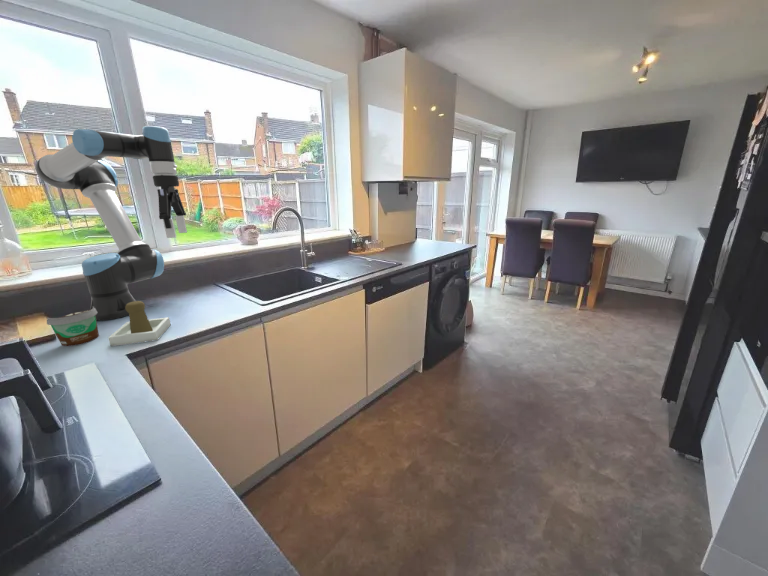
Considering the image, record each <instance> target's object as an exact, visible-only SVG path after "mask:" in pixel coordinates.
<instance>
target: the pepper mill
mask: <svg viewBox="0 0 768 576" xmlns="http://www.w3.org/2000/svg"><path fill="white" fill-rule="evenodd" d="M145 308H146V304H145V302H143V301H141V300H136V301H134V302H130V303H128V304H126V306H125V309H126V311H127V312H128V313H129V315H128V317H129V322H130V329H131V334H132V333H141V332H149V331H153V329H152V327H151V325H150V322H149V318H148V316H147V314H146V312H145V310H146V309H145Z"/></svg>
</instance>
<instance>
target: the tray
mask: <svg viewBox="0 0 768 576" xmlns="http://www.w3.org/2000/svg"><path fill="white" fill-rule="evenodd" d="M148 320H149V322H150V325H151V327H152V329H153V331H149V332H141V333H132V334H131V329H130V321H126V322H125V323H124V324H123V325H121V326H120V327H119V328H118V329H117V330H115V332H113V333H112V334H110V336H108V337H107V338H108V339H107V340H108V341H109V345H110V347H115V346H116V347H117V346H123V345H132V343H133V344H139V343H138V342H141V343H146V342H145V341H149V342H153V341H152V340H157V341H158V340H159V339H160V338H161V337H162V336H163V335H164V333H166V331H167V330H168V328H170V327H171V325H172V324H171V320H170V317H161V318H160V317H159V318H151V319H149V318H148ZM162 334H163V335H162ZM161 335H162V336H161ZM160 336H161V337H160ZM159 337H160V338H159ZM158 338H159V339H158Z"/></svg>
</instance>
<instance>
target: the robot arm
mask: <svg viewBox="0 0 768 576" xmlns="http://www.w3.org/2000/svg"><path fill="white" fill-rule="evenodd" d="M141 130H142V134H140V135H137V134H136V135H134V134H127V133H118V132H110V131H102V130H95V129H94V130H93V129H90V128H86V129H83V128H79V129H75V130H73V132H72V135H71V139H72V142H70V143H69V144H68V145H66V146H64V147H63V148H61V149H60V150H58V151H57V152H55V153H54V154H47V155H46V154H45V155H43V156H42V157H41V158H39V159H38V160H37V161H36V163H35V171H36V173H37V175H38V177H39V178H40V179H41V180H42V181H44V182H45V183H46V184H48V185H50V186H52V187H55V188H58V189H63V190H79V191H80V193H81V195H83V197H85V198H88V199H89V200H90V201H91V203H92V204H93V206H94V208H95V210H96V212H97V213H98V215H99V216H100V218H101V221H102V222H103V224H104V225H105V227H106V229H107V231H108V233H109V234H110V235H111V238H112V240H113V242H114V243H115V244H116V246H117V248H118V251H117V252H110V253H109V252H108V253H105V254H104V253H103V254H102V253H101V254H98V255H94V256H91V257H89V258H86V259H85V260H83V261H82V262H81V269H82V275H83V276H84V279H85V282H86V286H87V289H88V291H89V292H88V293H89V294H90V299H91V301H90V309H93V307H94V308H95V309H96V311H97V312H98V313H97V314H96V315H95V316H96V321H108V320H115V319H119V318H123V317H127V316H129V313H128V312H127V311H126V309H125V306H126V304H128V303H130V302H134V301H137V300H136V299H135V298H134V297H133V295H132V293H130V290H129V286H128V285H129V284H133V283H137V282H143V281H145V280H151V279H154V278H156V277H160V276H161V275H162V274H163V273H164V270H165V260H164V257H163V255H162V254H161V252H160V251H159V250H158V249H152V248H151V247H150V244H148V243H145V242H143V240H142V239H141V237H140V235H139V234H138V232H137V230H136V228H135V227H134V225H133V223H132V221H131V220H130V217H129V216H128V214H127V212H126V210H125V208H124V207H123V205H122V203H121V202H120V199H119V198H118V196H117V194H116V191H117V187H118V184H119V180H118V176H117V173H116V171H115V170H114V168H113V167H112V166H111V164H109V163H108V162H106V161H104V160H102V159H104V158H107V157H113V158H126V159H127V158H128V159H130V158H131V159H132V160H133V159H134V160H145V159H148V161H149V166H150V172H151V174H152V175H153V176H152V180H153V184H154V185H153V186H154V187H157V188H158V189H156V191H157V194H158V195H157V196H158V213H159V214H158V218H159V220H162V222H163V227H164V230H165V234H166V239H175V238H177V233H176V229H175V224H174V220H173V218H172V209H173V211H174V214H175V220H176V226H177V231H178V233H179V234H186V233H187V234H188V231H187V227H186V226H187V225H186V221H185V216H186V215H187V212H186V211H185V208H184V205H183V203H182V200H181V197H180V194H179V193H180V192H179V189H178V188H176V187H179V186H180V181H179V178H178V177H179V176H177V175H176V174H178V172H177V168H178V165H177V164H176V163H175V157H174V152H173V147H172V140H171V138H170V137H171V136H170V134H169V130H168V129H167V128H166V127H163V126H156V125H145V126H143V127H142V128H141ZM159 188H160V189H159ZM90 309H89V310H90Z"/></svg>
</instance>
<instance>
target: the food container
mask: <svg viewBox="0 0 768 576" xmlns="http://www.w3.org/2000/svg"><path fill="white" fill-rule="evenodd" d="M97 313H98V312H97V311H96V309H95V308H94V307H93V309H88V310H87V309H86V310H83V311H76V312H75V311H74V312H71V313H68V314H65V315H62V316H59V317H46V325H48V326H51V328H52V330H53V332H54V333H55V337H56V339H58V341H59V343H60V345H61V346H63V347H74V346H79V345H84V344H87V343H90V342H92V341H94V340H97V339H98V337H99V336H100V335H99V330H98V329H99V328H98V323H97V320H96V316H95V315H96V314H97Z"/></svg>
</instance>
